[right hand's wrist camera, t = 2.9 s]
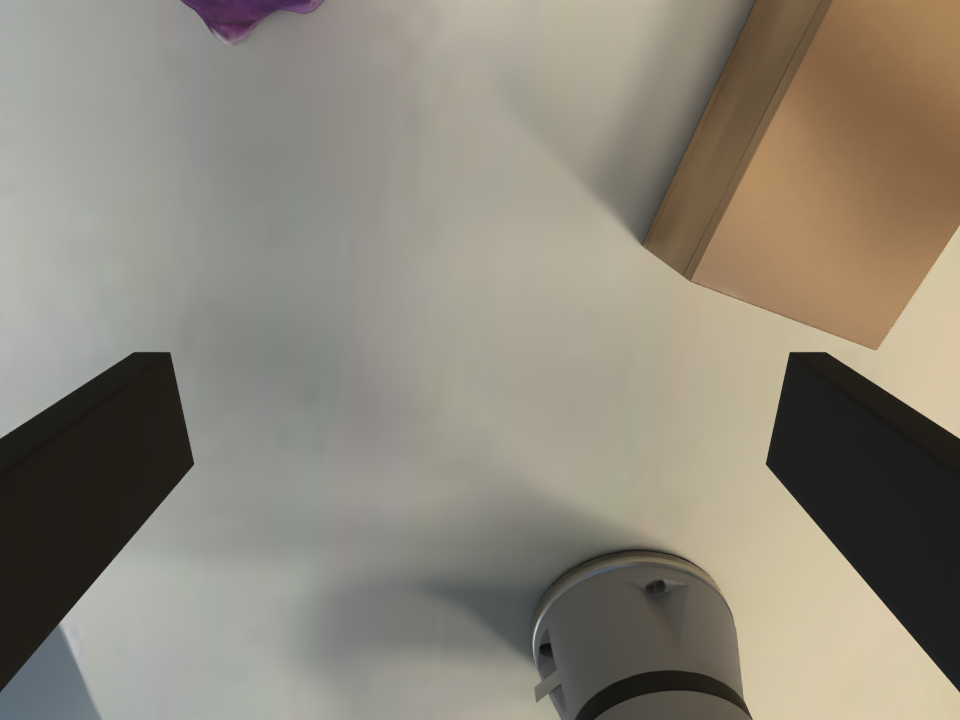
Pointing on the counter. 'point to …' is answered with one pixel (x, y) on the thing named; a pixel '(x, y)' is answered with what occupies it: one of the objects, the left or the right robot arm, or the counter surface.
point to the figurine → (242, 15)
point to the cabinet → (824, 164)
